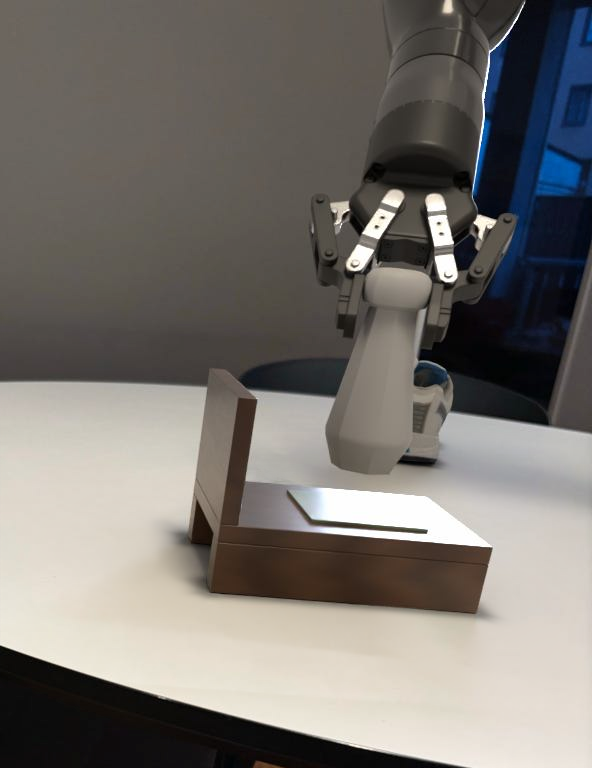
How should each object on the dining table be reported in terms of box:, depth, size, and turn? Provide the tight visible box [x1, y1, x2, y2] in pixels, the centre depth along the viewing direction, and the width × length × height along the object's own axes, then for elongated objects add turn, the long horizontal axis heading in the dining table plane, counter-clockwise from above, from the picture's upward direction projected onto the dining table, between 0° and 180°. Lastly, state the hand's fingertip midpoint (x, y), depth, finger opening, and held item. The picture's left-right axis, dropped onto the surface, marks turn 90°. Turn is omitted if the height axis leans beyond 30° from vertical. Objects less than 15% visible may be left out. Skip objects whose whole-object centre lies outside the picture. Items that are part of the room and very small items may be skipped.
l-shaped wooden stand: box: [187, 367, 493, 614], centre depth 70 cm, size 18×13×13 cm
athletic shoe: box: [398, 356, 454, 463], centre depth 122 cm, size 10×23×12 cm, turn 174°
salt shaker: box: [324, 267, 432, 476], centre depth 68 cm, size 6×6×13 cm
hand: (389, 334), depth 65 cm, fingers closed on salt shaker, 4 cm apart
